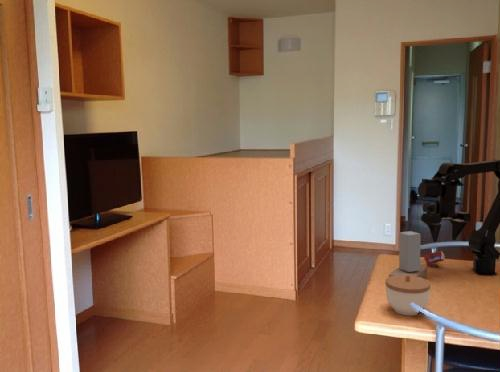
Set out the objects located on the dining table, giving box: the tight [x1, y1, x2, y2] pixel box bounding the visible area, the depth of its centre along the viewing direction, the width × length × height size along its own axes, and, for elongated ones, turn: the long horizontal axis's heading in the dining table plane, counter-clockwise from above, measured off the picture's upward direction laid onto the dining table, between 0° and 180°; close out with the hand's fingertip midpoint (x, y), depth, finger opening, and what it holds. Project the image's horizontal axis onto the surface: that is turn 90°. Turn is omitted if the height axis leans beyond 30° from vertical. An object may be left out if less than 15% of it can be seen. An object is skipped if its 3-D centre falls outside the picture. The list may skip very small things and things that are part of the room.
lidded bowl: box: [385, 275, 431, 316], centre depth 140 cm, size 13×13×11 cm
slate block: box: [398, 230, 421, 272], centre depth 165 cm, size 5×5×13 cm
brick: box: [388, 264, 428, 279], centre depth 166 cm, size 17×8×5 cm, turn 141°
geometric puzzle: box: [422, 248, 445, 268], centre depth 183 cm, size 7×7×8 cm
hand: (444, 240), depth 169 cm, fingers open, 9 cm apart
